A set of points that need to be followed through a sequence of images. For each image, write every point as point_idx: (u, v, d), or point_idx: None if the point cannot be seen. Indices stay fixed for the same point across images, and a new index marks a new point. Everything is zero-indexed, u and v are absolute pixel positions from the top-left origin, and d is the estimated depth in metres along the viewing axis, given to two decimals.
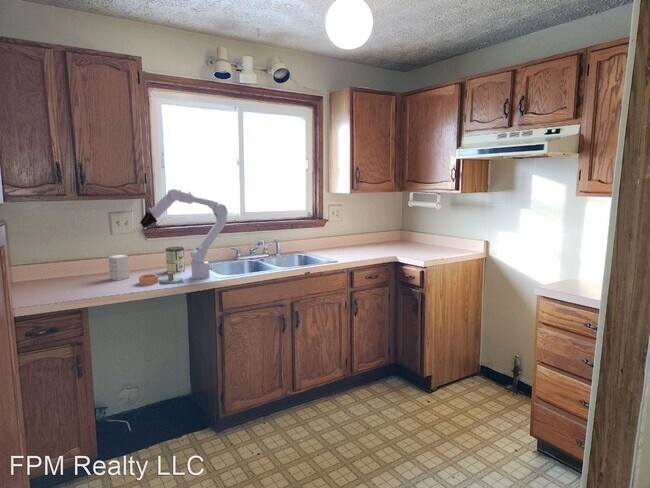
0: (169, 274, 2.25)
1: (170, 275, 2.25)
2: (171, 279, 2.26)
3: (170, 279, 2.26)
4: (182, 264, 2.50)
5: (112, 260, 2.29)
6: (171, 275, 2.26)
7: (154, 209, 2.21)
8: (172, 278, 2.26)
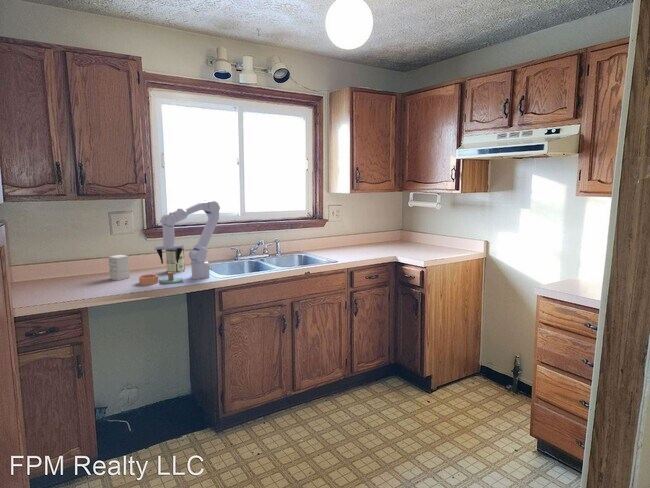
0: (169, 274, 2.25)
1: (170, 275, 2.25)
2: (171, 279, 2.26)
3: (170, 279, 2.26)
4: (182, 264, 2.50)
5: (112, 260, 2.29)
6: (171, 275, 2.26)
7: (173, 244, 2.23)
8: (172, 278, 2.26)
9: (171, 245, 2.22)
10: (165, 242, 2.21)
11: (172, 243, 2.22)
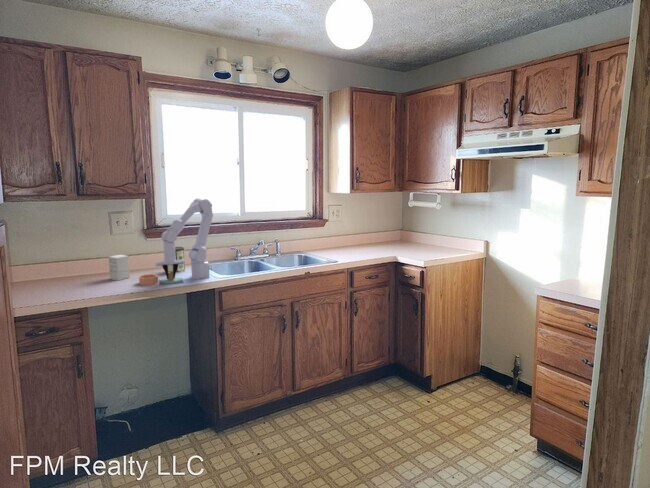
0: (169, 274, 2.25)
1: (170, 275, 2.25)
2: (171, 279, 2.26)
3: (170, 279, 2.26)
4: (182, 264, 2.50)
5: (112, 260, 2.29)
6: (171, 275, 2.26)
7: (174, 260, 2.24)
8: (172, 278, 2.26)
9: (172, 261, 2.23)
10: (166, 258, 2.22)
11: (173, 259, 2.24)
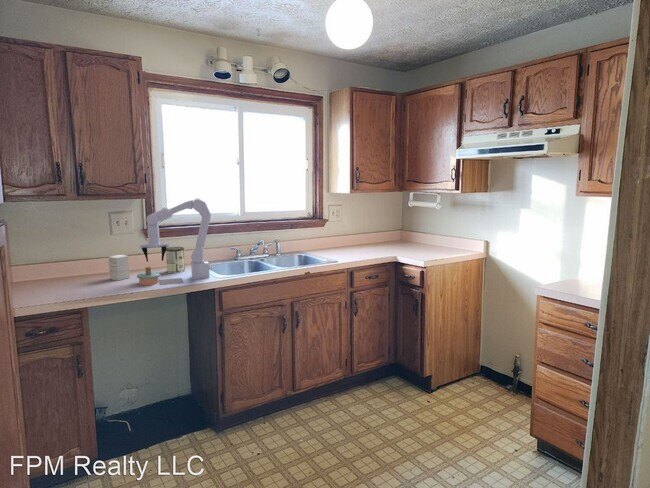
0: (146, 269, 2.21)
1: (147, 270, 2.21)
2: (148, 274, 2.22)
3: (147, 274, 2.21)
4: (182, 264, 2.50)
5: (112, 260, 2.29)
6: (148, 270, 2.21)
7: (158, 242, 2.28)
8: (149, 273, 2.22)
9: (156, 243, 2.27)
10: (150, 240, 2.26)
11: (157, 241, 2.28)
